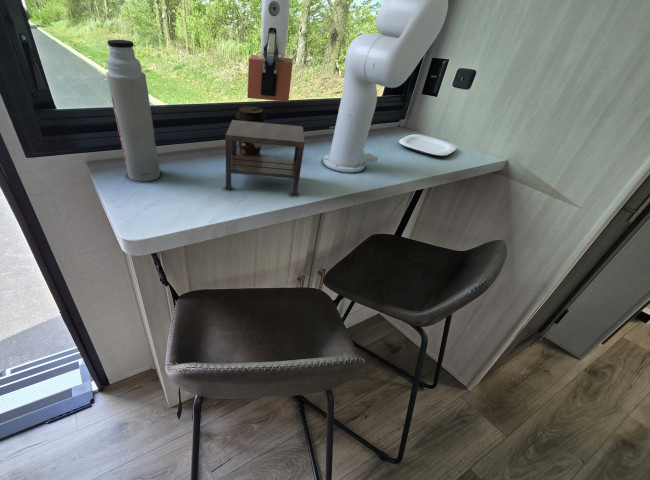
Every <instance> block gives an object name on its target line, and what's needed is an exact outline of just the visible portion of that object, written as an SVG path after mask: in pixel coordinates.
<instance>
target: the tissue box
mask: <svg viewBox="0 0 650 480" xmlns="http://www.w3.org/2000/svg"><path fill="white" fill-rule="evenodd" d="M263 65H264V56H263V55H260V54H259V55H258V54H250V56H249V57H248V69H247V71H248V73H247V95H246V96H247V97H246V98H247V99H253V100H266V101H276V102H285V103H289V100H290V91H291V84H292V74H293V66H294V62H293V58H289V57H283V58H282V57H280V56H278V60H277V71H276V74H277V85H276V95H275V96H264V95H261V81H262V72H263Z"/></svg>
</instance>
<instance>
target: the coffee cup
mask: <svg viewBox="0 0 650 480" xmlns="http://www.w3.org/2000/svg"><path fill="white" fill-rule="evenodd" d="M235 117H236V120H238V121H249V122H259V123H264V122H265V121H266V120H267V115H266V112H265V111H264V109H263V108H262V107H259V106H252V105H245V106H241V107H239V109H238V112H237V113H236V115H235ZM261 148H262V144H259V143H248V142H238V155H245V156H256V157H261V156H260V155H261Z"/></svg>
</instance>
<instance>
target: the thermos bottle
mask: <svg viewBox="0 0 650 480" xmlns="http://www.w3.org/2000/svg"><path fill="white" fill-rule="evenodd" d="M107 46H108V47H109V48H108V52H109V58H107V59H106V63H107V64H106V67H107V69H108V71H107V72H106V73H105V76H106V81H107V84H108V85H107V86H108V90H109V93H110V98H111V103H112V107H113V112H114V116H115V120H116V125H117V130H118V135H119V140H120V144H121V149H122V153H123V157H124V162H125V166H126V171H127V175H128V176H127V177H128V178H129V180H131V181H136V182H151V181H155V180H156V179H158V178H159V177H160V176H161V169H160V163H159V156H158V150H157V145H156V140H155V129H154V123H153V116H152V110H151V103H150V97H149V89H148V82H147V76H146V74H145V73H144V72H143V71H142V64H141V61H140V60H139V59H137V58H136V55H135V50H134V42H133V41H131V40H127V39H109V40H107Z"/></svg>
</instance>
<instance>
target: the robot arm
mask: <svg viewBox="0 0 650 480" xmlns="http://www.w3.org/2000/svg"><path fill="white" fill-rule="evenodd" d="M290 6H291V0H261V15H260V17H261V18H260V21H261V22H260V54H261V56H264V65H263V72H262V81H261V95H264V96H275V95H276V85H277V74H276V71H277V60H278V57H279V55H281V58H285V57H286V49H287V42H288V41H287V39H288V32H289V31H288V30H289V22H290V21H289V19H290V8H291V7H290ZM448 9H449V0H384V1H383V2H382V4H381V6H380V8H379V10H378V11H377V14H376V19H375V27H376V30H377V31H378V33H371V32H370V33H363V34H360V35H358V36H356V37H355V38H354V39H353V40H352V41H351V42H350V44H349V45H348V48H347V50H346V54H345V58H344V75H343V77H344V78H343V87H342V93H341V97H340V103H339V107H338V113H337V117H336V122H335V127H334V132H333V137H332V142H331V146H330V151H329V153H328V154H327V155H325V156H324V157H323V160H322V162H323V164H324V166H326V167H327V168H329V169H331V170H333V171H337V172H341V173H342V172H343V173H359V172H361V171H364V169H365V166H366V163H372V164H373V163H374V164H377V163H378V161H379V156H378V155H373V153H370V152H369V153H366V151H364V150H365V146H366V143H367V139H368V136H369V132H370V128H371V125H372V120H373V117H374V114H375V111H376V108H377V107H376V106H377V102H378V91H377V90H378V89H377V86H380V87H385V88H390V89H395V88H398V87H400V86H401V85H403V84H404V83H405V82H406V81H407V80H408V78H409V77H410V76H411V75H412V73H413V72H414V71H415V69H416V67H417V66H418V65H419V64H420V61H421V60H422V58H423V57H424V56H425V54H426V53H427V52H428V50H429V49H430V47H431V46H432V45H433V43H434V42H435V40H436V39H437V37H438V35H439V33H440V32H441V30H442V28H443V26H444V23H445V21H446V19H447V18H446V17H447V14H448Z"/></svg>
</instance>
